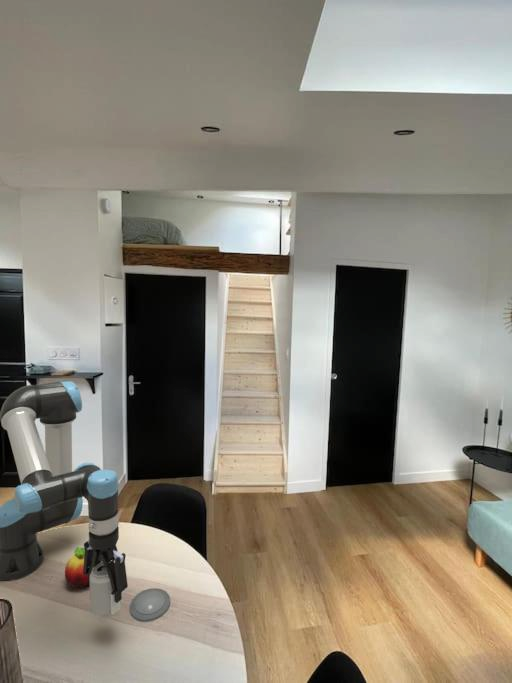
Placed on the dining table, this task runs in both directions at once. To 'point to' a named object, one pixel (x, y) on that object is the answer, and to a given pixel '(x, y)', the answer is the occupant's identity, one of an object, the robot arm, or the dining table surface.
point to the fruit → (76, 569)
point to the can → (100, 591)
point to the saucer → (149, 604)
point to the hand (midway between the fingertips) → (105, 604)
